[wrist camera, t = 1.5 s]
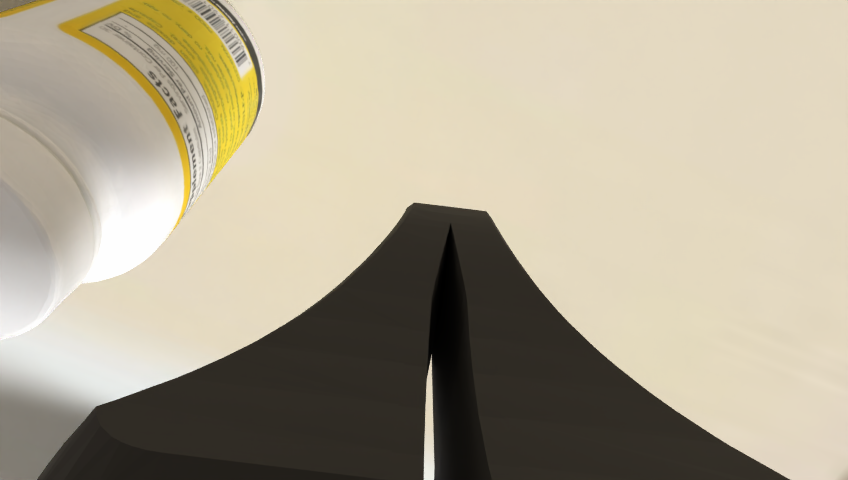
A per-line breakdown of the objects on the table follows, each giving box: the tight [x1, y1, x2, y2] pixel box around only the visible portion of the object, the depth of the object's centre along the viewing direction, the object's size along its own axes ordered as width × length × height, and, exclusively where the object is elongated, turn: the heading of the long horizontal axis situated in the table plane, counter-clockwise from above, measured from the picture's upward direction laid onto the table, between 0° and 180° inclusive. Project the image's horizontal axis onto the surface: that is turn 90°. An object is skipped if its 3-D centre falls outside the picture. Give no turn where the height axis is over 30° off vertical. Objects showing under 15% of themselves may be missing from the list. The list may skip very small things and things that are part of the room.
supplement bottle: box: [0, 0, 265, 340], centre depth 14 cm, size 5×5×10 cm
